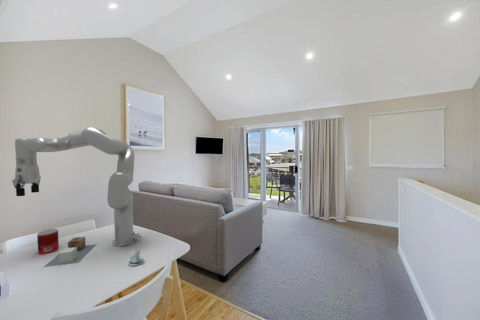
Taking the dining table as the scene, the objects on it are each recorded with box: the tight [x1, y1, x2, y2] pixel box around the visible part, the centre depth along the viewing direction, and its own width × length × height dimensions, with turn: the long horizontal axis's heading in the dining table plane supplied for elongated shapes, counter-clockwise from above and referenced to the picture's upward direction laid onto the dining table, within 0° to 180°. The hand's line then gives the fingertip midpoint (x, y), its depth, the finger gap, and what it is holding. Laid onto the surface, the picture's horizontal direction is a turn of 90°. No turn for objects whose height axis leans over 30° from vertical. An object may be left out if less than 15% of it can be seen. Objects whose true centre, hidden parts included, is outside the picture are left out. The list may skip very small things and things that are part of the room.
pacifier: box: [127, 248, 144, 267], centre depth 95 cm, size 7×6×6 cm
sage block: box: [58, 247, 77, 264], centre depth 97 cm, size 5×5×5 cm
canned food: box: [36, 228, 60, 255], centre depth 107 cm, size 8×8×11 cm
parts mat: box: [43, 243, 98, 268], centre depth 103 cm, size 14×20×1 cm
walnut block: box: [67, 236, 86, 251], centre depth 108 cm, size 6×6×6 cm
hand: (28, 194), depth 105 cm, fingers open, 9 cm apart
